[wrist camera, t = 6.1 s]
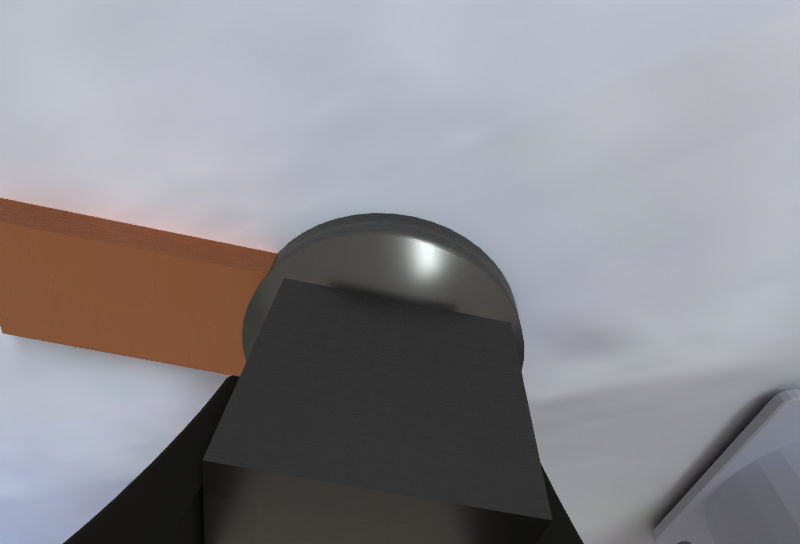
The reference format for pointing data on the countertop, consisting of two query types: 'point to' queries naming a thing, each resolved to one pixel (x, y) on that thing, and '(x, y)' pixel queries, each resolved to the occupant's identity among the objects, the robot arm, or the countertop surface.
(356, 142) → the countertop surface
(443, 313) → the dark grey cube
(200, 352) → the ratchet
